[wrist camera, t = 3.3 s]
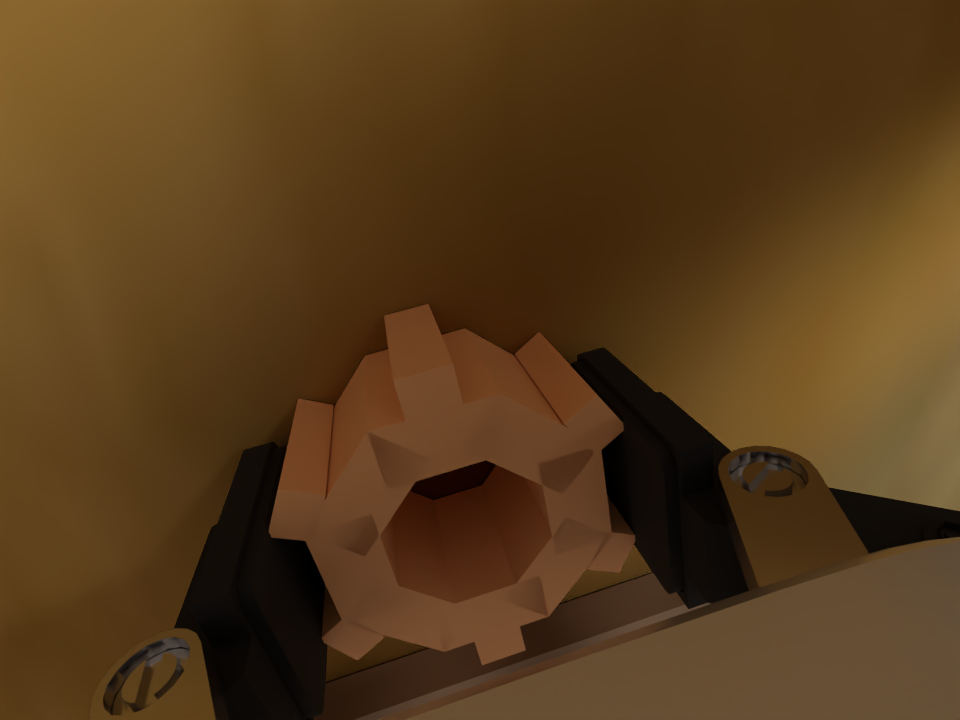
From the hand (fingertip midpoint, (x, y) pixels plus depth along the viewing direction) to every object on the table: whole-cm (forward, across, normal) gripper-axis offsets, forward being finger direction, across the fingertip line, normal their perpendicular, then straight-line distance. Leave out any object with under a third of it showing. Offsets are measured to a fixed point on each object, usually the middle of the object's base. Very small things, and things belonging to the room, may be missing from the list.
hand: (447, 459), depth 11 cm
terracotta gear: (+1, 0, 0) cm, 1 cm away
